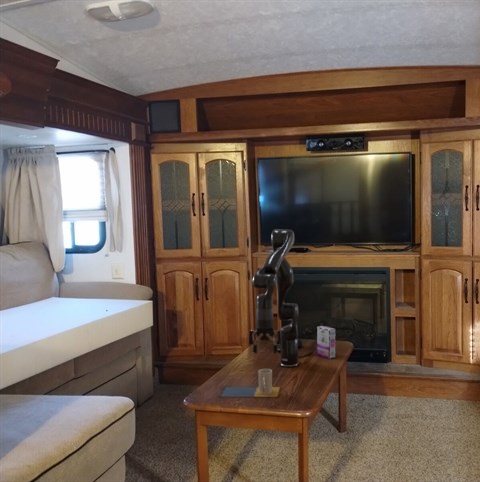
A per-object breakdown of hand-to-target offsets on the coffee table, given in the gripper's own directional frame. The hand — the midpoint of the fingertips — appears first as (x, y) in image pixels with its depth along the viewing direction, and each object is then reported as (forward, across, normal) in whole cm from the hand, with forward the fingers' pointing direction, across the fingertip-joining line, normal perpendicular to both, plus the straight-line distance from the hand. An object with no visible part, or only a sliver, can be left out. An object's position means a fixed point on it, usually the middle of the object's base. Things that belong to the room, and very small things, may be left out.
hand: (265, 352), depth 197 cm
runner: (+18, +7, +1) cm, 19 cm away
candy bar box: (+19, -28, -52) cm, 62 cm away
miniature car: (+19, -6, -65) cm, 68 cm away
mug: (+18, 0, +2) cm, 18 cm away
